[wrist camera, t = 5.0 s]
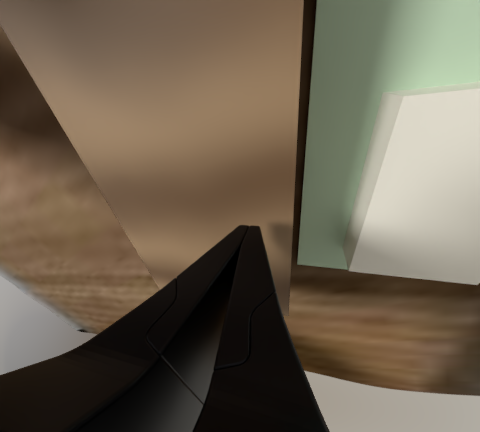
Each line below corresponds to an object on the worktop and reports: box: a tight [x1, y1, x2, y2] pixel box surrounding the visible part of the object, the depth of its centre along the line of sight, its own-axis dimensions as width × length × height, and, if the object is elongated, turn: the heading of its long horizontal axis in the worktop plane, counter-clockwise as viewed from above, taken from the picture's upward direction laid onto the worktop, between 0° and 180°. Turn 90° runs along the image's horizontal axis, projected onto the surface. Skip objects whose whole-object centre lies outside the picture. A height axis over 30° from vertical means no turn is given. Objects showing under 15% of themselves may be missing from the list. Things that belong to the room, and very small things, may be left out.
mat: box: [297, 0, 480, 270], centre depth 9 cm, size 16×10×1 cm, turn 7°
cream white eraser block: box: [343, 82, 480, 285], centre depth 9 cm, size 9×6×2 cm, turn 7°
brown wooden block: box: [0, 0, 304, 316], centre depth 11 cm, size 18×10×4 cm, turn 7°
